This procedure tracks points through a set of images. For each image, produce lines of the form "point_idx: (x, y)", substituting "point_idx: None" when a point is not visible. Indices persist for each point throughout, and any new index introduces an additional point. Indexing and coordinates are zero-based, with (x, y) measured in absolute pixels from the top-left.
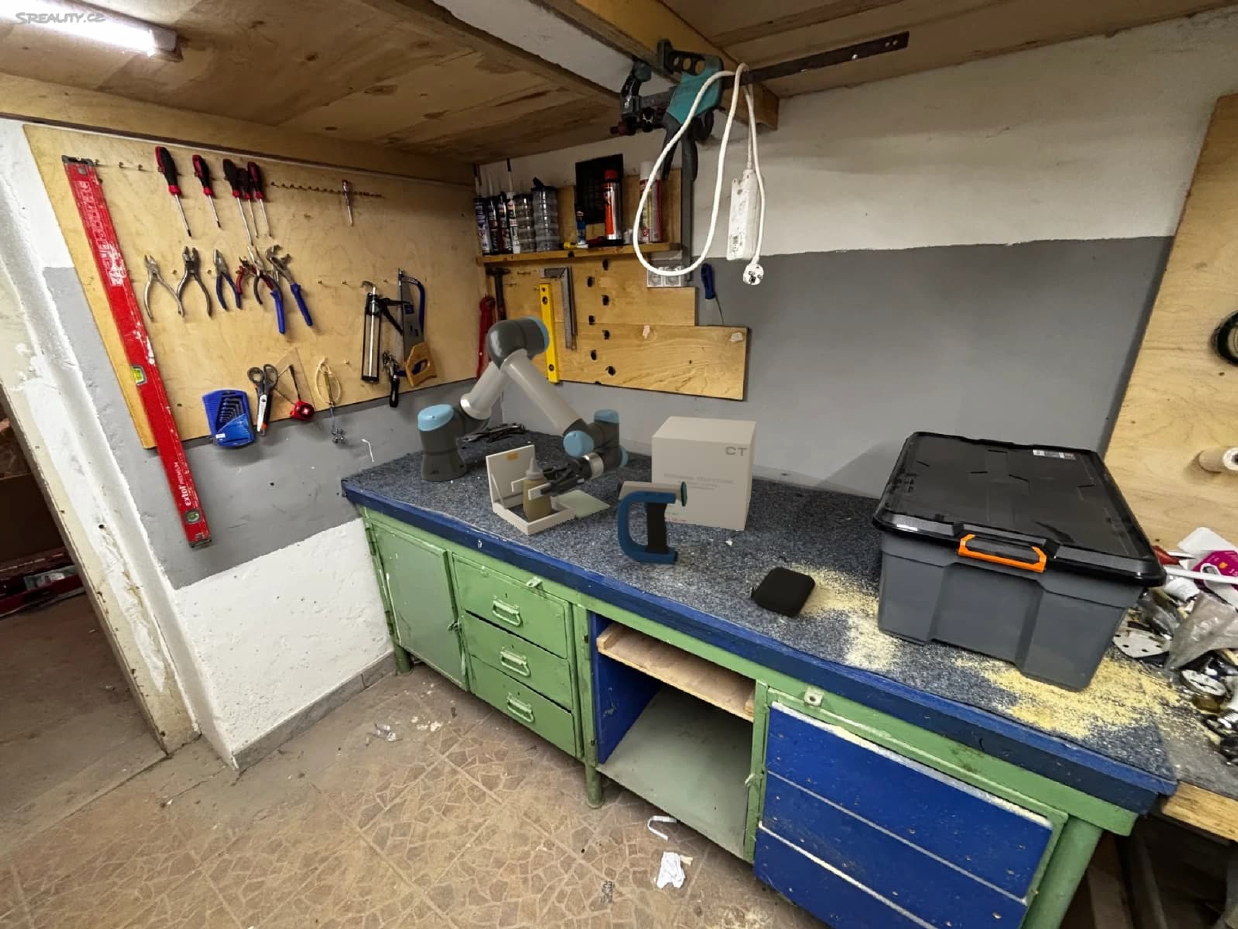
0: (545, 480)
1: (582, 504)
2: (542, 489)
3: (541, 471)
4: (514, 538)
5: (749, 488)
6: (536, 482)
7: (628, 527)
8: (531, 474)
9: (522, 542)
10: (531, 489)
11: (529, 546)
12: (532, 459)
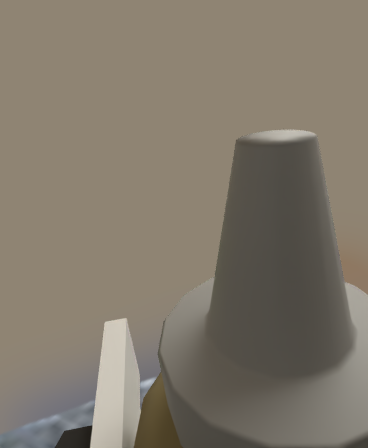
0: None
1: None
2: (80, 439)
3: (198, 392)
4: (142, 396)
5: None
6: (161, 380)
7: None
8: (197, 287)
9: (90, 409)
10: (115, 337)
11: (42, 419)
12: (243, 137)
